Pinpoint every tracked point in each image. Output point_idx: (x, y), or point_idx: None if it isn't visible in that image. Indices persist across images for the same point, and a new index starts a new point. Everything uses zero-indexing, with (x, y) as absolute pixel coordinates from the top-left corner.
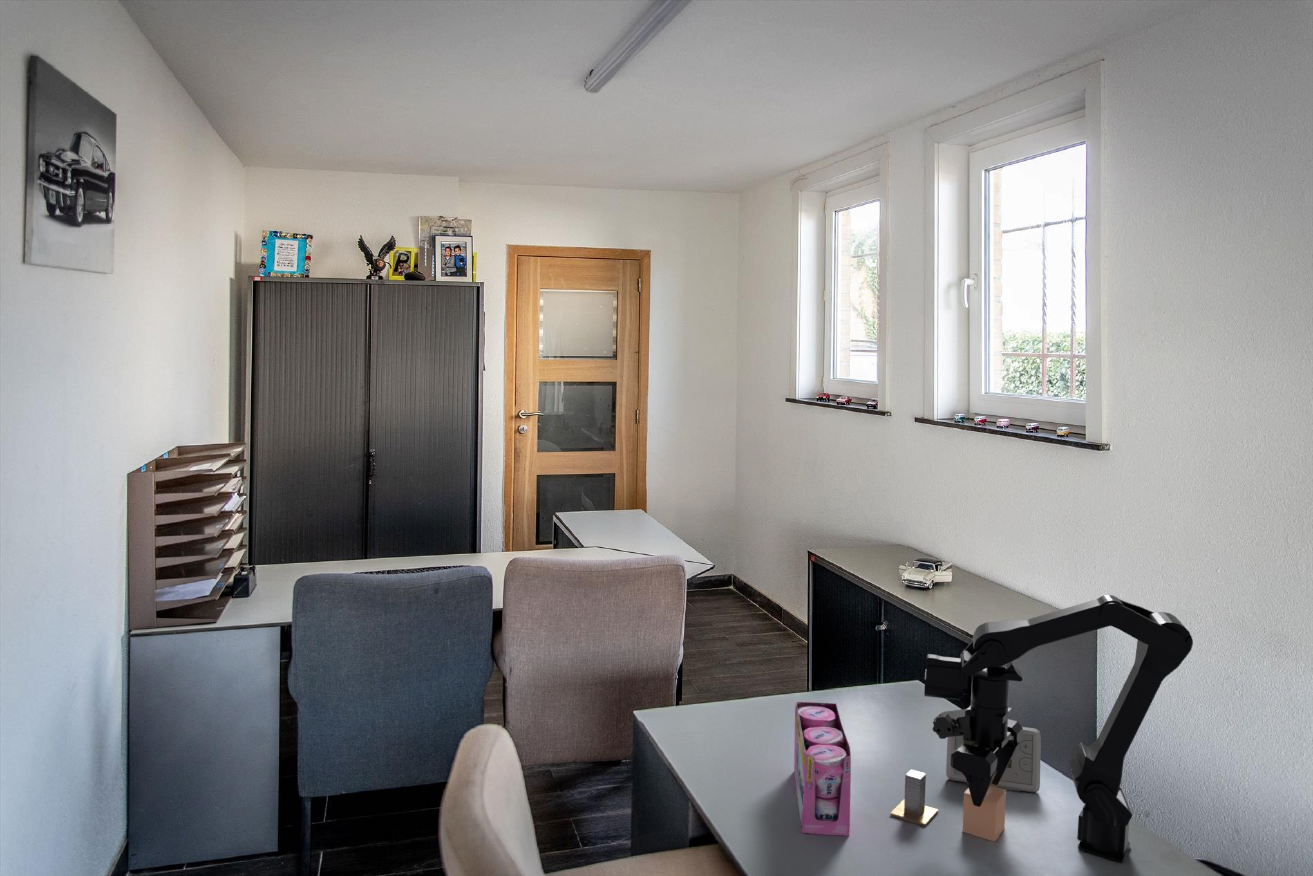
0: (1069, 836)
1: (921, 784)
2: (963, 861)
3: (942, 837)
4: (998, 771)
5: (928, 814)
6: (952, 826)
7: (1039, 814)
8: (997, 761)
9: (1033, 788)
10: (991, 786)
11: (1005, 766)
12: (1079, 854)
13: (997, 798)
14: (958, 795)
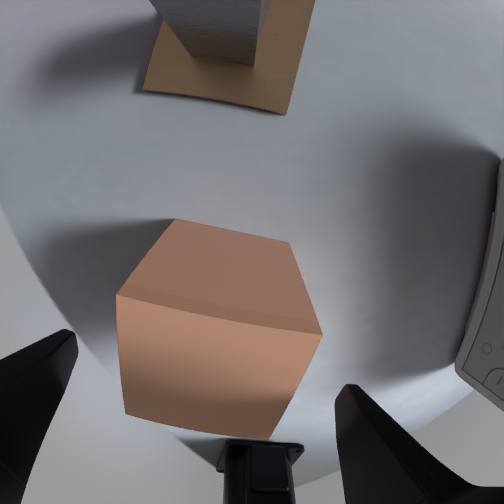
0: (281, 429)
1: (177, 2)
2: (30, 242)
3: (105, 162)
4: (351, 458)
5: (224, 84)
6: (196, 180)
7: (367, 384)
8: (373, 494)
9: (455, 368)
10: (279, 405)
11: (346, 498)
12: (214, 438)
13: (162, 420)
14: (435, 187)
